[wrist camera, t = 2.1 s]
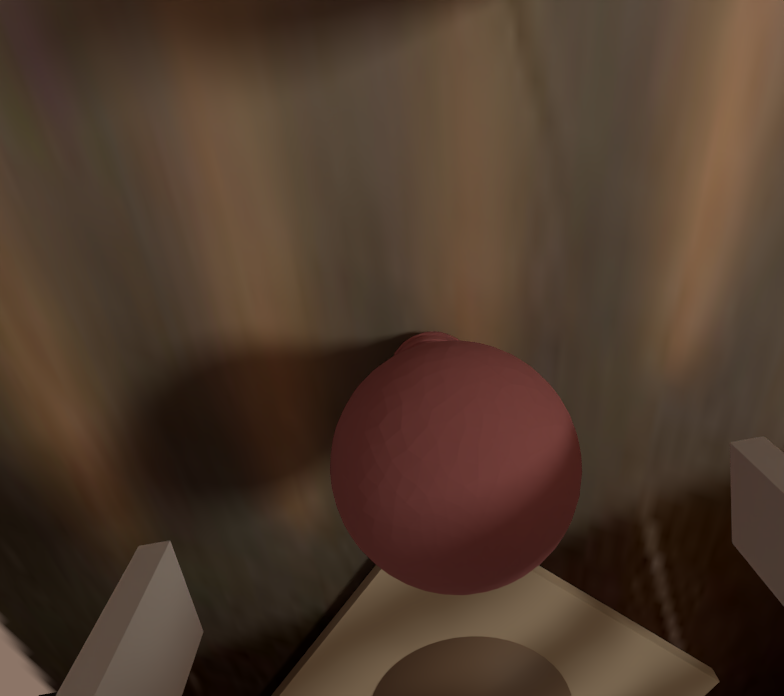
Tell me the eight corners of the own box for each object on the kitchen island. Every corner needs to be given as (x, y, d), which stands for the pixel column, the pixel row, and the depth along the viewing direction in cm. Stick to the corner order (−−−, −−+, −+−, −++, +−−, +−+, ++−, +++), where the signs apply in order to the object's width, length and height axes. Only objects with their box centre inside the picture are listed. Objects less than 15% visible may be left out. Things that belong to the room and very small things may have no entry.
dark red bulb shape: (469, 242, 25) (532, 344, 14) (552, 389, 28) (664, 580, 16) (315, 333, 27) (258, 493, 15) (405, 466, 29) (414, 695, 17)
